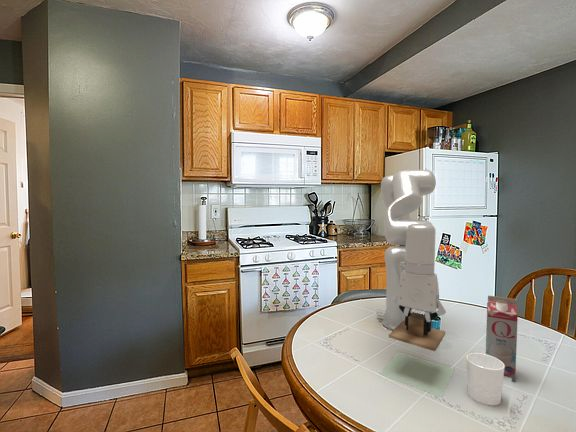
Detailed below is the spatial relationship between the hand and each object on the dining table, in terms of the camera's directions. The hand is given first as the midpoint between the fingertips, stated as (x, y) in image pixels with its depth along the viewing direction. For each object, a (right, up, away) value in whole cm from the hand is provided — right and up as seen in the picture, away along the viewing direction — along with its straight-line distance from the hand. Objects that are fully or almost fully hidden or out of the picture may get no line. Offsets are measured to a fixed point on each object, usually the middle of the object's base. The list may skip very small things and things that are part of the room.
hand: (417, 330), depth 86 cm
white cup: (+12, -13, -11) cm, 21 cm away
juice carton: (+24, -13, +1) cm, 27 cm away
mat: (0, -12, 0) cm, 13 cm away
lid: (0, -2, 0) cm, 2 cm away
